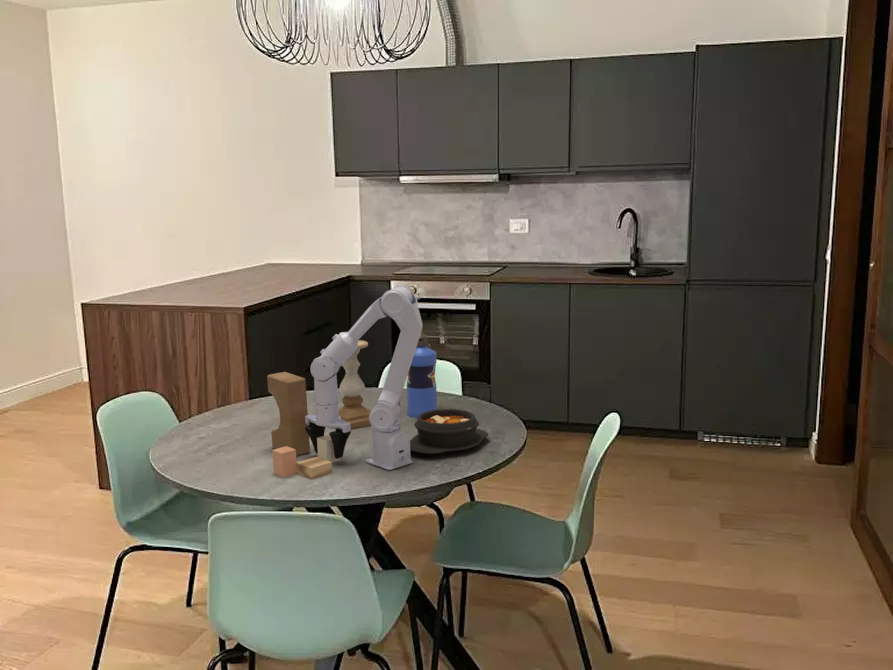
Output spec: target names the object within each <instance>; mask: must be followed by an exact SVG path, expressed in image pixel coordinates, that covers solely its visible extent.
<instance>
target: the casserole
mask: <svg viewBox="0 0 893 670" xmlns="http://www.w3.org/2000/svg"><path fill="white" fill-rule="evenodd" d="M416 419H417V420H416V421H415V422H414V427H415V428H416V430H417V434H416V435H414V436H413V437H412V438H411V439H410V452H411V451H412V452H413V453H419V454H425V455H436V454H441V453H443V454H447V453H448V454H449V453H457V452H462V451H465V450H469V449H472V448H474V447H476V446H478V445H480V444H481V443H482V441H483V440H484V439H486V438H487V437H488V436H489V433H488V432H487V431H486V430H483V429H480V428H478V427H479V424H480V423H479V421H478V420H477V418H476V415H475V414H474V413H473V412H471V411H468V410H464V409H456V408H455V409H454V408H440V409H438V408H437V410H431V411H427V412H424V413H422V414H420V415H419V416H418V418H416Z"/></svg>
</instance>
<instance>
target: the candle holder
mask: <svg viewBox="0 0 893 670" xmlns="http://www.w3.org/2000/svg"><path fill="white" fill-rule="evenodd" d="M368 346H369V342H368V341H366V340H362V339H358V348H357V350H356V351H355V352H354V353H353V354H352V355H351V356H350V357H349V358H348V359H347V361H346V362H345V363H344V364H343V365H342V366H341V367H343V369H344V370H345V374H344V377H343V379H342V380H341V383H340V384H339V392H340V394H341V395H343V398H342V400H341V402H342V404H343V406H342V407H341V408H339V409H338V411H339V416H340V417H341V420H343V421H345V422H347V423H350V424H351V431H352V430H355V429H361V428H365V427H369V426H371V427H372V425H371V424H370V421H369V415H370V412H371V411H372V410H370V409H368V407H366V406H364V405H362V404H363V402H364V398H363V397H362V394H363V393H364V392H365V389H366V388H365V387H366V386H365V384H364V382H363V380H362V378H360V375H359V373H358V370H359V367H360V366H361V363H360V361H359V360H358V354H359V353H360V350H361V349H364V348H366V347H368Z"/></svg>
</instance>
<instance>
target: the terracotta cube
mask: <svg viewBox="0 0 893 670" xmlns="http://www.w3.org/2000/svg"><path fill="white" fill-rule="evenodd" d="M272 467H273V474H274V475H276V476H278V477H280V478H286V477H290V476H294V475H296V474H297V456H296V450H295V449H293V448H290V447H288V446H285V447H281V448H278V449H275V448H273V449H272Z"/></svg>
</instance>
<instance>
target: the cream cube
mask: <svg viewBox="0 0 893 670" xmlns="http://www.w3.org/2000/svg"><path fill="white" fill-rule="evenodd" d="M317 448H318V453H317V457H319V458H322V459H325V460H327V461H330V462H332V464H333V463H336V462H340V461H341V458H338V459H336V458H335V456H334V447H333V442H332V439H331V437H330V435H329V434H327V435H324V436H322V437H318V438H317Z"/></svg>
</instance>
